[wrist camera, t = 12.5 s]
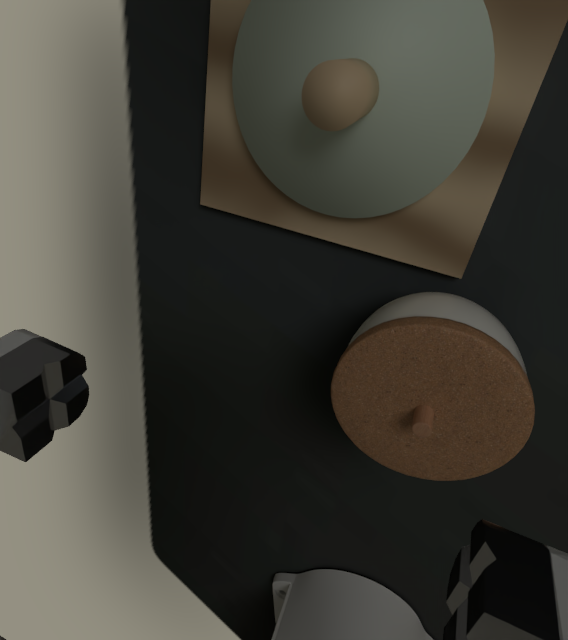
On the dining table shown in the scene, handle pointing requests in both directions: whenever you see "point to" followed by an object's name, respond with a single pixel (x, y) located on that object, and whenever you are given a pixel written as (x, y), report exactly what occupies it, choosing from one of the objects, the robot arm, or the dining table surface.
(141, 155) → the dining table surface
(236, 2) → the plate
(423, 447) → the lidded jar
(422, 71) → the lid
